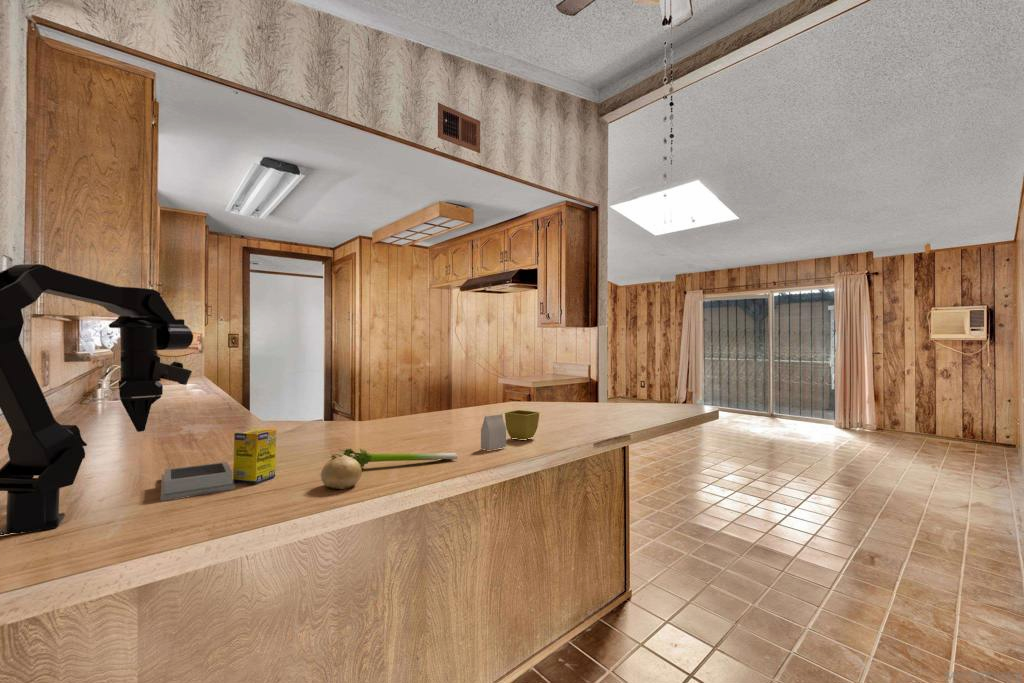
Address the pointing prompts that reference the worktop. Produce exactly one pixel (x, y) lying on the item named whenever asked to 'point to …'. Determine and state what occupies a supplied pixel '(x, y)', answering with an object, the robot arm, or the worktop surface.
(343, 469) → the onion
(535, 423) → the flower pot
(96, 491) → the worktop surface
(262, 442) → the supplement box
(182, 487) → the gray rectangular tray
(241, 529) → the worktop surface
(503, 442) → the grey gable carton
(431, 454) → the green celery stalk
